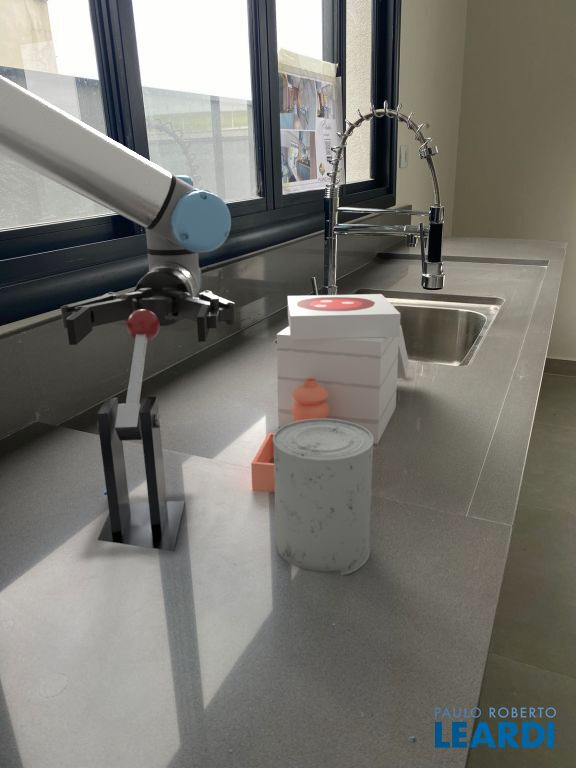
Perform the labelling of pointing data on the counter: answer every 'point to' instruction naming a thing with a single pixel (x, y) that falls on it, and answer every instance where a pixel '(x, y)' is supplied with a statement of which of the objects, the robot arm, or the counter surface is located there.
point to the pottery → (305, 407)
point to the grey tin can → (323, 494)
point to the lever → (136, 374)
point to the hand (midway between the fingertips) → (136, 331)
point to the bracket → (158, 516)
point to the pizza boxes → (343, 357)
